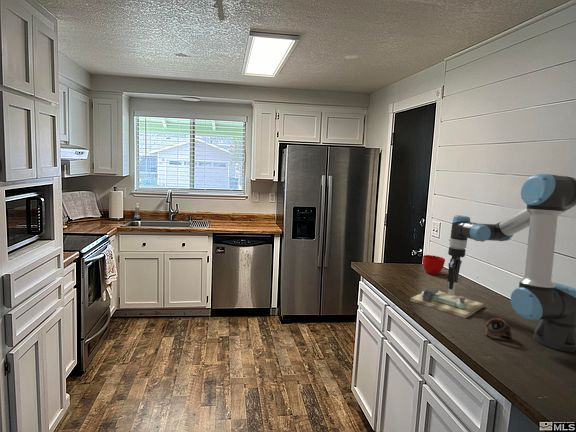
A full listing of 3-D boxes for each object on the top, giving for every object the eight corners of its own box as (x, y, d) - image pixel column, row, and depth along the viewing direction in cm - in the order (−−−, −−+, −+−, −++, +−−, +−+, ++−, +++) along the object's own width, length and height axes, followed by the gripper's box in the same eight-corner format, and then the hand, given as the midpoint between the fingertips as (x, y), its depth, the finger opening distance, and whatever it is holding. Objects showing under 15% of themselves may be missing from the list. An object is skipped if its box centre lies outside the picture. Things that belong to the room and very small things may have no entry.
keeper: (437, 298, 198) (438, 289, 198) (428, 302, 191) (430, 293, 190) (431, 296, 200) (432, 287, 200) (422, 300, 193) (424, 291, 192)
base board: (483, 306, 197) (485, 293, 196) (465, 318, 178) (467, 303, 177) (431, 291, 214) (433, 279, 213) (410, 300, 195) (411, 287, 195)
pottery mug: (518, 344, 156) (513, 328, 153) (493, 351, 158) (488, 335, 155) (504, 325, 167) (500, 309, 164) (481, 331, 169) (476, 315, 166)
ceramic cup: (445, 272, 260) (448, 257, 259) (440, 277, 246) (442, 261, 244) (425, 268, 267) (427, 253, 265) (418, 272, 252) (420, 257, 251)
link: (468, 307, 187) (469, 303, 187) (464, 309, 184) (465, 305, 184) (423, 294, 202) (424, 290, 201) (419, 296, 198) (419, 292, 198)
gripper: (453, 244, 203) (447, 290, 206) (445, 247, 193) (438, 295, 196) (469, 247, 198) (462, 294, 201) (461, 250, 188) (454, 299, 191)
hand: (450, 295), depth 199 cm, fingers closed
